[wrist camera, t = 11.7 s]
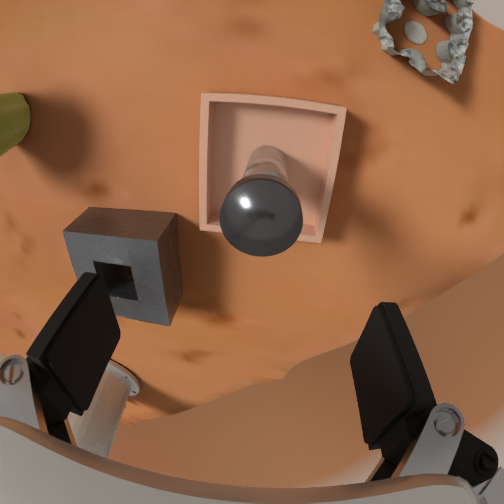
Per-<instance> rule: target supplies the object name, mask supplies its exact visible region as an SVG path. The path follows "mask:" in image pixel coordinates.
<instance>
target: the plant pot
mask: <svg viewBox="0 0 504 504" xmlns="http://www.w3.org/2000/svg"><path fill="white" fill-rule="evenodd" d="M30 118H31V115H30V107H29V105H28V104H27V102H26V101H25V99H24V96H23V95H22V94H20V93H5V94H0V156H1V155H3V154H4V153H5V152H7V151H8V150H10V149H11V148H12V147H14V146H15V145H17V144H18V143H20V142H21V141H22V140H23V138H24V137H25V135H26V134H27V132H28V130H29V126H30Z"/></svg>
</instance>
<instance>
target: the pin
mask: <svg viewBox="0 0 504 504" xmlns="http://www.w3.org/2000/svg"><path fill="white" fill-rule="evenodd" d="M219 220H220V227H221V230H222V232H223V234H224V236H225V238H226V239H227V240H228V242H229V243H230V244H231V245H233V246H234V247H235V248H236V249H238V250H240V251H241V252H244V253H246V254H249V255H253V256H272V255H276V254H279V253H281V252H283V251H285V250H287V249H288V248H289V247H291V246H292V245H293V244H294V243H295V241H296V240H297V239H298V237H299V235H300V233H301V230H302V227H303V214H302V208H301V203H300V199H299V197H298V195H297V193H296V191H295V190H294V188H293V187H292V186H291V185H290V184H289V181H288V173H287V165H286V159H285V156H284V154H283V153H282V152H281V151H280V150H279V149H278V148H276V147H273V146H268V145H266V146H261V147H258V148H257V149H255V150H254V151H253V152H252V153H251V155H250V157H249V160H248V163H247V166H246V169H245V172H244V174H243V177H242V179H240V180H239V181H237V182H236V183H235V184H234V185H233V186H232V187H231V188H230V189H229V191H228V193H227V195H226V197H225V199H224V202H223V204H222V207H221V210H220V216H219Z"/></svg>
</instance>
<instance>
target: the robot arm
mask: <svg viewBox="0 0 504 504" xmlns="http://www.w3.org/2000/svg"><path fill="white" fill-rule="evenodd" d="M119 339H120V328H119V325H118V322H117V319H116V316H115V313H114V309H113V306H112V303H111V299H110V296H109V292H108V289H107V285H106V282H105V280H104V279H102V276H101V275H100V274H97V273H90V272H85V273H83V274H82V276H81V277H80V278H79V279H78V281H77V282H76V283H75V285H74V286H73V287H72V288H71V290H70V291H69V292H68V294H67V295H66V296H65V298H64V299H63V300H62V302H61V303H60V304H59V306H58V307H57V309H56V310H55V311H54V313H53V314H52V316H51V317H50V318H49V320H48V321H47V323H46V324H45V326H44V327H43V329H42V330H41V332H40V333H39V335H38V336H37V338H36V339H35V341H34V342H33V344H32V345H31V347H30V348H29V350H28V352H27V353H26V354H27V356H28V357H27V359H26V360H25V358H24V357H22V356H21V355H16V354H14V355H10V356H8V357H6V358H4V359H3V360H2V361H1V362H0V504H504V470H503V468H502V467H500V468H498V456H497V453H496V452H495V450H494V449H493V448H492V447H491V446H489V445H488V444H486V443H485V442H483V441H482V440H480V439H478V438H477V437H475V436H474V435H472V434H471V433H469V432H467V431H466V430H464V425H465V424H464V418H463V416H462V414H461V412H460V411H459V409H458V408H456V407H455V406H454V405H452V404H449V403H442V404H438V405H437V404H436V401H435V398H434V394H433V392H432V389H431V386H430V383H429V380H428V377H427V375H426V372H425V369H424V367H423V364H422V361H421V359H420V356H419V354H418V351H417V349H416V346H415V344H414V341H413V339H412V336H411V334H410V332H409V329H408V327H407V325H406V322H405V320H404V318H403V316H402V313H401V311H400V309H399V307H398V305H397V304H396V303H391V302H380V303H379V304H378V306H375V307H374V308H373V310H372V312H371V315H370V317H369V319H368V321H367V323H366V326H365V328H364V330H363V332H362V334H361V336H360V338H359V340H358V343H357V345H356V347H355V349H354V351H353V353H352V355H351V358H350V365H351V369H352V375H353V379H354V385H355V390H356V395H357V401H358V407H359V412H360V419H361V425H362V431H363V438H364V442H365V443H366V444H368V445H369V450H373V449H381V452H382V458H381V459H380V461H379V462H378V464H377V465H376V467H375V468H374V470H373V471H372V473H371V474H370V476H369V477H368V479H367V480H366V482H365V483H357V484H349V485H339V486H328V487H312V488H258V487H257V488H256V487H242V486H231V485H221V484H213V483H206V482H200V481H194V480H187V479H182V478H178V477H173V476H168V475H163V474H159V473H155V472H151V471H147V470H143V469H140V468H136V467H132V466H129V465H126V464H123V463H120V462H117V461H114V460H110V459H108V455H109V452H110V449H111V446H112V442H113V440H114V437H115V433H116V431H117V428H118V425H119V422H120V419H121V416H122V413H123V410H124V409H125V408H126V402H127V399H128V397H129V396H134V395H137V394H138V393H139V390H140V383H139V381H138V380H137V379H136V377H135V376H134V375H133V374H132V373H131V372H129V371H128V370H127V369H125V368H124V367H123V366H121V365H119V364H118V363H116V362H114V361H112V360H110V359H111V356H112V354H113V352H114V350H115V348H116V346H117V344H118V342H119Z"/></svg>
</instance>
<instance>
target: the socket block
mask: <svg viewBox="0 0 504 504" xmlns="http://www.w3.org/2000/svg"><path fill="white" fill-rule="evenodd" d="M63 234H64V238H65V242H66V245H67V249H68V252H69V255H70V259H71V262H72V265H73V268H74V271H75V274H76V277H77V280H78V279H79V278H80V277H81V276H82V274H83V273H85V272H90V273H97V274H100V275H101V276H102V279H104V280H105V282H106V285H107V289H108V292H109V296H110V299H111V303H112V306H113V309H114V313H115V316H119V317H124V318H129V319H134V320H139V321H144V322H149V323H154V324H160V325H166V326H170V325H171V323H172V320H173V317H174V315H175V312H176V309H177V307H178V304H179V302H180V299H181V297H182V294H183V293H182V283H181V273H180V262H179V250H178V237H177V222H176V213H168V212H155V211H142V210H127V209H112V208H95V207H89V208H88V209H87V210H85V211H84V212H83V213H82V214H81V215H80V216H79V217H77V218H76V219H75V220H74V221H73V222H72V223H71V224H70V225H69V226H68V227H66V228H65V229H64V230H63ZM122 265H125V266H122ZM129 266H131V267H129Z"/></svg>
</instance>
